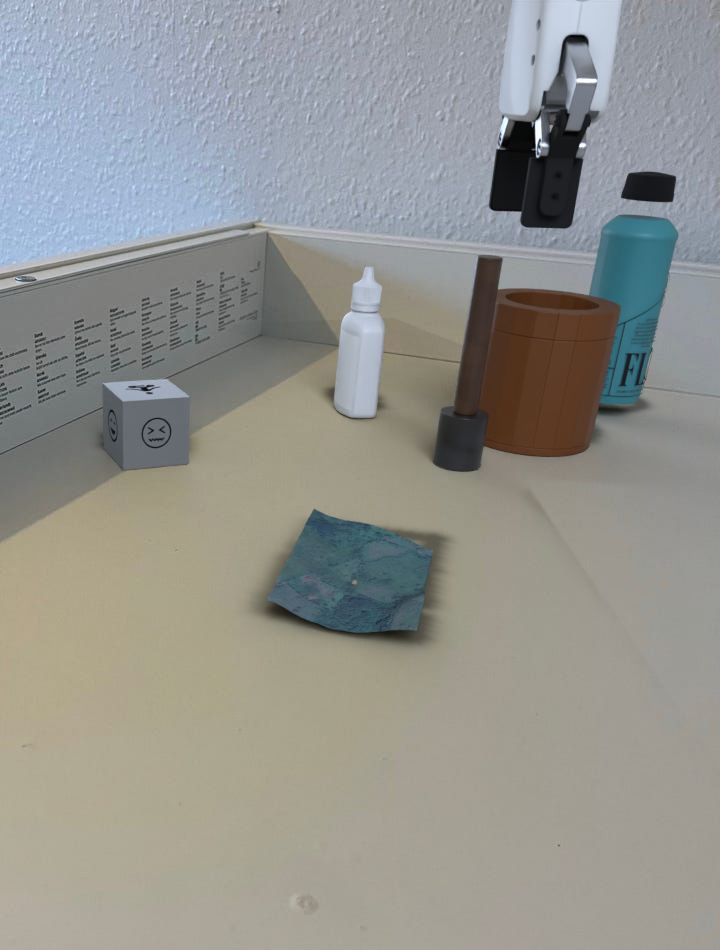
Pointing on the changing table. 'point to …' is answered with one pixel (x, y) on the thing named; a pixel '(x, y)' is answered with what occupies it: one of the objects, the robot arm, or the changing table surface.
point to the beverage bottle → (634, 282)
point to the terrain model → (353, 577)
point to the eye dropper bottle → (360, 351)
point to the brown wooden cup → (546, 370)
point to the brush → (470, 377)
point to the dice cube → (146, 423)
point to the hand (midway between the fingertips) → (526, 218)
